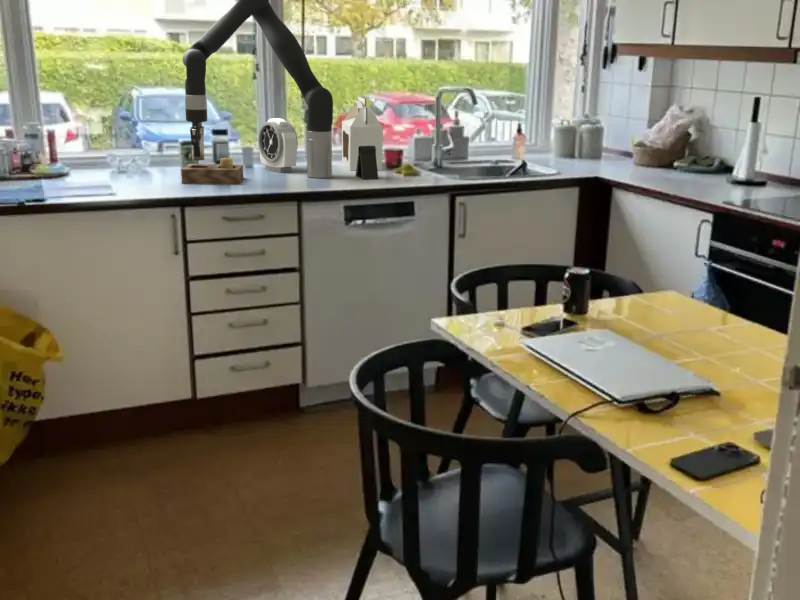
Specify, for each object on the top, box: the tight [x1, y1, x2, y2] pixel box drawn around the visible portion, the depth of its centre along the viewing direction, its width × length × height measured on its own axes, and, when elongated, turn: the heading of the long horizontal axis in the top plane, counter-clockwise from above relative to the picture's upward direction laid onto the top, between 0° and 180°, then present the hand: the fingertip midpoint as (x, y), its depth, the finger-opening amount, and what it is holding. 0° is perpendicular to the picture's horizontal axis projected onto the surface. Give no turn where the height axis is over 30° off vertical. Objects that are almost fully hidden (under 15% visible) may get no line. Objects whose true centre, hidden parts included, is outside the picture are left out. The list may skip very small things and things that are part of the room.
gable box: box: [341, 96, 384, 172], centre depth 350 cm, size 22×13×28 cm, turn 12°
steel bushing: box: [190, 137, 206, 161], centre depth 309 cm, size 4×4×8 cm
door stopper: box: [355, 146, 379, 181], centre depth 325 cm, size 9×6×12 cm, turn 22°
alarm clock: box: [257, 117, 299, 173], centre depth 337 cm, size 18×8×20 cm, turn 42°
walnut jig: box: [180, 157, 245, 185], centre depth 311 cm, size 20×14×8 cm
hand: (198, 155), depth 309 cm, fingers closed on steel bushing, 4 cm apart
